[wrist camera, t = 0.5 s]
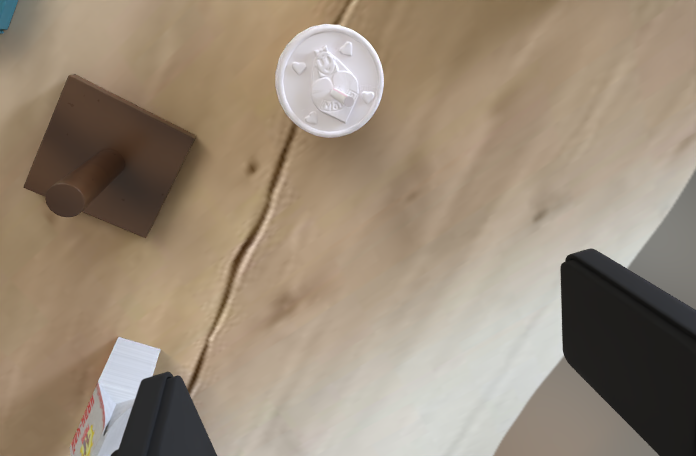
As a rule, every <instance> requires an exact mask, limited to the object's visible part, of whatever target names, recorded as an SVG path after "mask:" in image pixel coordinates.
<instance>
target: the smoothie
mask: <svg viewBox="0 0 696 456" xmlns="http://www.w3.org/2000/svg"><path fill="white" fill-rule="evenodd" d="M383 86H384V77H383V69H382V65H381V62H380V59H379V57H378V55H377V53H376V51H375V50H374V48H373V47H372V45H371V44H370V43H369V42H368V41H367V40H366V39H365V38H364V37H363V36H361V35H360V34H359V33H357V32H355V31H353V30H351V29H349V28H346V27H343V26H340V25H332V24H322V25H318V26H313V27H310V28H308V29H306V30H304V31H302V32H300V33H299V34H297V35H296V36H295V37H294V38H293V39H292V40H291V41H290V42H289V43H288V44H287V45H286V47H285V49H284V51H283V52H282V54H281V56H280V58H279V61H278V65H277V69H276V86H275V87H276V91H277V95H278V99H279V102H280V104H281V106H282V108H283V110H284V111H285V113H286V115H287V116H288V117H289V118H290V119H291V120H292V121H293V122H294V123H295V124H296V125H297V126H299V127H300V128H301V129H303V130H304V131H306V132H308V133H310V134H313V135H316V136H320V137H327V138H334V137H341V136H345V135H348V134H350V133H353V132H354V131H356V130H358V129H359V128H361V127H362V126H363V125H365V124H366V123H367V122H368V121H369V120H370V118H371V117H372V116H373V114H374V113H375V111H376V109H377V108H378V105H379V103H380V100H381V97H382V93H383Z"/></svg>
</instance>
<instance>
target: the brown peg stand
mask: <svg viewBox="0 0 696 456" xmlns="http://www.w3.org/2000/svg"><path fill="white" fill-rule="evenodd" d="M195 138H196V136H195V135H193V134H191V133H189V132H188V131H186V130H184V129H182V128H180V127H178V126H176V125H174V124H172V123H170V122H168V121H166V120H164V119H162V118H160V117H158V116H156V115H154V114H152V113H150V112H148V111H146V110H144V109H142V108H140V107H138V106H136V105H134V104H132V103H130V102H128V101H127V100H125V99H123V98H121V97H119V96H117V95H115V94H113V93H111V92H109V91H107V90H105V89H103V88H101V87H99V86H97V85H95V84H93V83H91V82H89V81H87V80H85V79H83V78H81V77H79V76H77V75H75V74H74V75H69V76H68V78H67V81H66V83H65V86H64V88H63V91H62V93H61V96H60V98H59V101H58V103H57V106H56V108H55V111H54V113H53V115H52V118H51V120H50V123H49V125H48V128H47V130H46V133H45V135H44V138H43V140H42V143H41V145H40V148H39V150H38V153H37V155H36V157H35V160H34V162H33V165H32V167H31V170H30V172H29V175H28V177H27V180H26V182H25V185H24V188H26V189H28V190H31V191H33V192H36V193H38V194H40V195H43V196H45V197H46V203H47V205H48V207H49V208H50V210H51V211H53V212H54V213H55V214H57V215H60V216H63V217H73V216H76V215H78V214H80V213H81V212H84V213H86V214H89V215H91V216H94V217H96V218H98V219H101V220H103V221H106V222H108V223H110V224H113V225H115V226H118V227H120V228H123V229H125V230H127V231H130V232H132V233H135V234H137V235H139V236H142V237H144V238H146V237H147V235H148V234H149V232H150V230H151V228H152V226H153V223H154V221H155V219H156V217H157V215H158V213H159V211H160V209H161V207H162V205H163V203H164V201H165V199H166V197H167V195H168V193H169V191H170V189H171V187H172V185H173V183H174V181H175V179H176V177H177V174H178V172H179V170H180V168H181V166H182V164H183V162H184V160H185V158H186V156H187V154H188V152H189V150H190V148H191V146H192V144H193V142H194V140H195Z"/></svg>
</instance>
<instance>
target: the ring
mask: <svg viewBox="0 0 696 456" xmlns="http://www.w3.org/2000/svg"><path fill="white" fill-rule="evenodd" d="M17 2H18V0H0V34H3V33H4V32H3V30H2V29H5V30H7V29H8V27H9V24H10V22H11V19H12V16H13V13H14V11H15V8H16V5H17Z"/></svg>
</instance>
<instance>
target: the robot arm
mask: <svg viewBox="0 0 696 456" xmlns="http://www.w3.org/2000/svg"><path fill="white" fill-rule="evenodd" d="M561 301H562V338H563V353H564V356H565V358H566V360H567V362H568V363H569V364H570V365H571V366H572V367H573V368H574V369H575V370H576V371H577V373H578V374H580V376H581V377H582V378H583V379H584V380H585V381H586V382H587V383H588V384H589V385H590V386H591V387H592V388H593V389H594V390H595V391H596V392H597V393H598V394H599V395H600V396H601V397H602V398H603V399H604V400H605V401H606V402H607V403H608V404H609V405H610V406H611V407H612V408H613V409H614V410H615V411H616V412H617V413H618V414H619V415H620V416H621V417H622V418H623V419H624V420H625V421H626V422H627V423H628V424H629V425H630V426H631V427H632V428H633V429H634V430H635V431H636V432H637V433H638V434H639V435H640V436H641V437H642V438H643V439H644V440H645V441H646V442H647V443H648V444H649V445H650V446H651V447H652V448H653V449H654V450H655V451H656V452H657V453H658V454H659V455H660V456H696V310H695V309H693V308H691V307H690V306H688V305H686V304H685V303H683V302H681V301H680V300H678V299H676V298H674V297H673V296H671V295H670V294H668V293H666V292H665V291H663V290H661V289H660V288H658V287H656V286H655V285H653V284H651V283H650V282H648V281H647V280H645V279H643V278H641V277H640V276H638V275H637V274H635V273H633V272H632V271H630V270H628V269H627V268H625V267H623V266H622V265H620V264H618V263H617V262H615V261H613V260H612V259H610V258H608V257H607V256H605V255H603V254H602V253H600V252H598V251H597V250H594V249H587V250H583V251H580V252H576V253H573V254H570V255H568V256H567V257H566V260H565V262H564V263H562V265H561ZM111 456H217V454H216V452H215V450H214V448H213V445H212V443H211V441H210V439H209V437H208V434H207V432H206V430H205V428H204V426H203V423H202V421H201V419H200V417H199V415H198V412H197V410H196V408H195V406H194V404H193V401H192V399H191V397H190V395H189V392H188V390H187V388H186V386H185V384H184V381H183V379H182V378H181V377H180V376H175V377H173V375H172V374H171V373H170V372H165V373H162V374H158V375H155V376H152V377H148V378H145V379H143V380H142V381H141V383H140V386H139V389H138V392H137V395H136V398H135V401H134V404H133V407H132V410H131V413H130V416H129V419H128V422H127V425H126V428H125V431H124V434H123V437H122V440H121V443H120V446H119V449H118V450H115V451H114V452H113V453H112V454H111Z"/></svg>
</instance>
